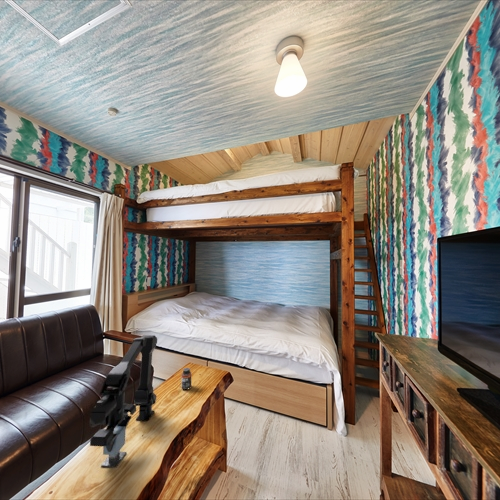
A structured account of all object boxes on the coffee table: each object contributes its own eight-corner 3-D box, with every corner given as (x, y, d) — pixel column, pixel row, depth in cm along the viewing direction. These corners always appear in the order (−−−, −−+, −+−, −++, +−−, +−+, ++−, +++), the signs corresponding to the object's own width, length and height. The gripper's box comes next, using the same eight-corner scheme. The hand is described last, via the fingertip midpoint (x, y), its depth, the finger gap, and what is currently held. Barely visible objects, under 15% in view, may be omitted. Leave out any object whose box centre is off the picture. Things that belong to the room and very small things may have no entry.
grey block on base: (112, 443, 86) (113, 426, 86) (125, 443, 85) (125, 426, 86) (103, 454, 80) (103, 436, 81) (116, 455, 80) (116, 436, 81)
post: (112, 452, 86) (112, 433, 86) (126, 453, 85) (127, 433, 86) (100, 466, 80) (101, 445, 80) (116, 467, 79) (116, 446, 80)
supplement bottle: (187, 384, 135) (188, 365, 136) (193, 387, 131) (193, 368, 132) (179, 388, 130) (179, 369, 131) (184, 391, 126) (185, 372, 127)
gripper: (113, 389, 94) (112, 426, 93) (76, 420, 75) (74, 467, 74) (137, 390, 93) (136, 427, 92) (106, 421, 75) (104, 468, 73)
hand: (114, 445), depth 83 cm, fingers closed on grey block on base, 5 cm apart
